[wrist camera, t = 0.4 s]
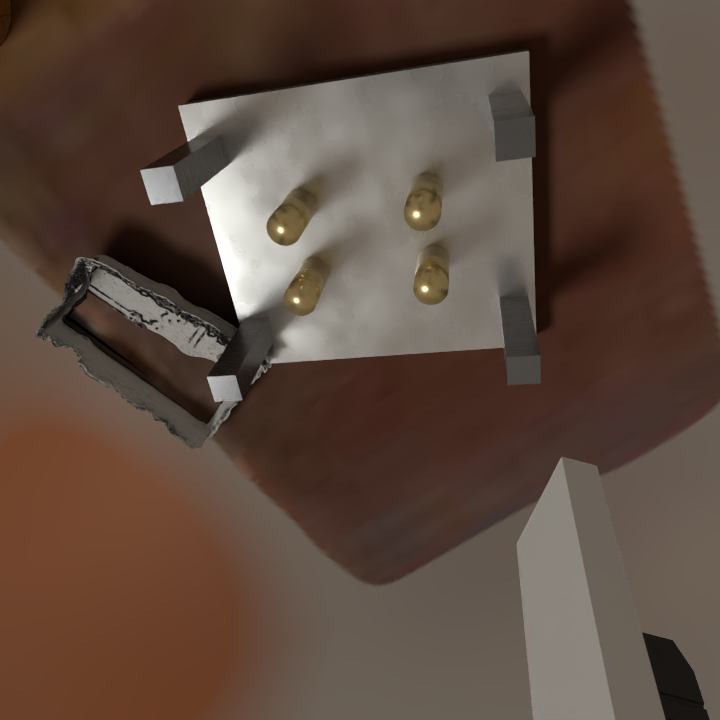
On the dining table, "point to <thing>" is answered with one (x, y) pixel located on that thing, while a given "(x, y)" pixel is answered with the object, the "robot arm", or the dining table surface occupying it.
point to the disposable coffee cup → (4, 18)
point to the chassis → (369, 214)
